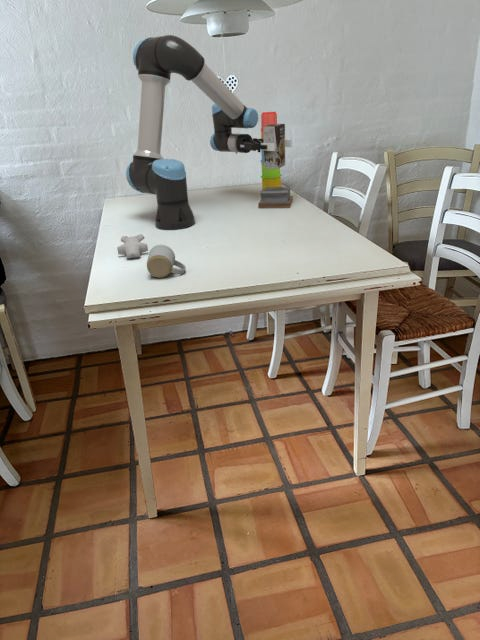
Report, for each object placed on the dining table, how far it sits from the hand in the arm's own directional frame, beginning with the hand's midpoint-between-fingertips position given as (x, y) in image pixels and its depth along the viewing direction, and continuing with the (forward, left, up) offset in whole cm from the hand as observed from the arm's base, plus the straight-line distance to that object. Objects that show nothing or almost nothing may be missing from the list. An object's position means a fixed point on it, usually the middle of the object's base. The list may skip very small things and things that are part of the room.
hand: (283, 145), depth 189 cm
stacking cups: (+26, +9, -24) cm, 37 cm away
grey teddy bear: (-60, +42, -24) cm, 78 cm away
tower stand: (+2, +4, -24) cm, 24 cm away
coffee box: (+2, +4, -9) cm, 10 cm away
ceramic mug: (-77, +25, -24) cm, 85 cm away
